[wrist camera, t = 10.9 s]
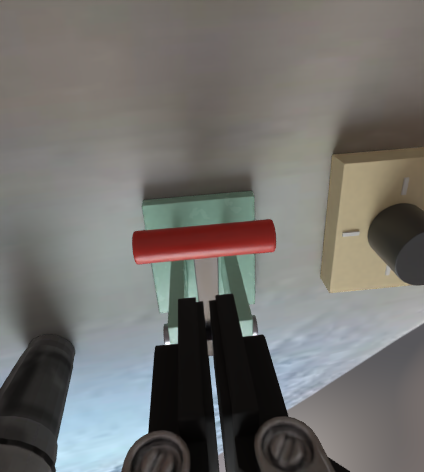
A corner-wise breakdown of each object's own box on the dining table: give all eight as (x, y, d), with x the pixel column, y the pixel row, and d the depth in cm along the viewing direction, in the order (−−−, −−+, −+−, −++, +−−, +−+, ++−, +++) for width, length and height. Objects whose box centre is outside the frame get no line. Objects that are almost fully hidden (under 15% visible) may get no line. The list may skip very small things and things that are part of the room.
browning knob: (363, 256, 31) (391, 290, 27) (372, 205, 29) (404, 233, 25) (418, 252, 31) (454, 285, 27) (431, 200, 29) (473, 227, 25)
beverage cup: (91, 328, 36) (7, 606, 18) (86, 379, 39) (10, 656, 22) (12, 319, 35) (-160, 608, 17) (14, 373, 38) (-130, 661, 20)
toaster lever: (132, 215, 16) (131, 262, 14) (269, 204, 16) (280, 248, 15) (167, 326, 26) (167, 360, 24) (251, 317, 26) (257, 351, 24)
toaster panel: (332, 154, 29) (345, 164, 27) (453, 144, 30) (476, 153, 27) (319, 277, 35) (330, 294, 33) (421, 267, 35) (438, 283, 33)
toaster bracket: (142, 199, 30) (122, 284, 20) (251, 190, 30) (288, 269, 20) (160, 305, 35) (151, 416, 25) (252, 296, 35) (282, 402, 25)
